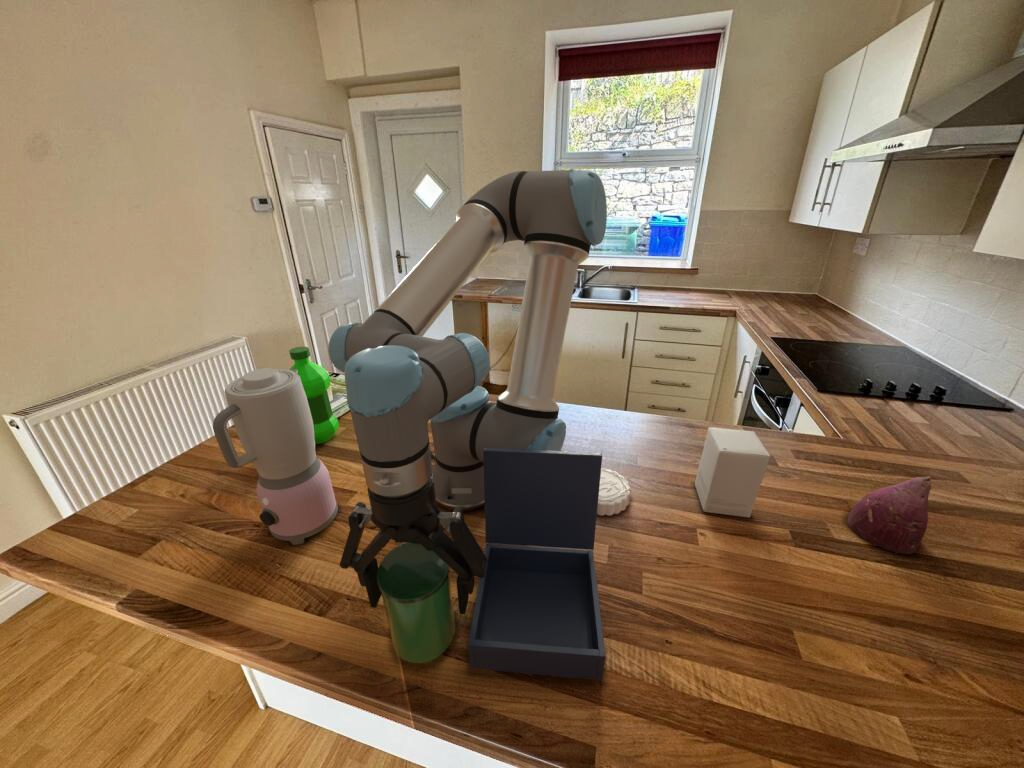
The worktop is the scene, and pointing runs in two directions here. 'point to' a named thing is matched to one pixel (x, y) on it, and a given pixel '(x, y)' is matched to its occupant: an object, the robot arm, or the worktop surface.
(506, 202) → the robot arm
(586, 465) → the chest lid
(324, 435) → the plastic bottle
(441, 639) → the green pot
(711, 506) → the rectangular carton
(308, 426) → the blender
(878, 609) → the worktop surface
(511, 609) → the chest
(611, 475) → the mooncake
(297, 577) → the worktop surface
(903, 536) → the vegetable
